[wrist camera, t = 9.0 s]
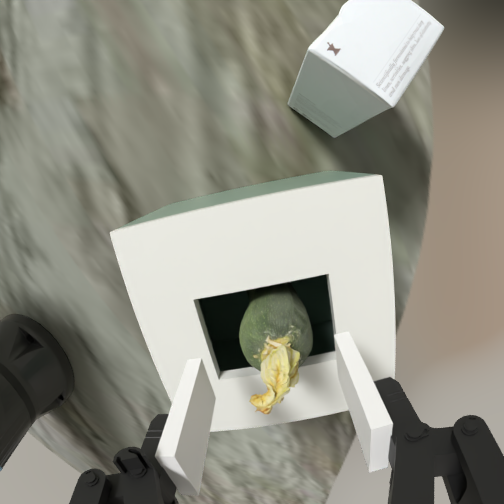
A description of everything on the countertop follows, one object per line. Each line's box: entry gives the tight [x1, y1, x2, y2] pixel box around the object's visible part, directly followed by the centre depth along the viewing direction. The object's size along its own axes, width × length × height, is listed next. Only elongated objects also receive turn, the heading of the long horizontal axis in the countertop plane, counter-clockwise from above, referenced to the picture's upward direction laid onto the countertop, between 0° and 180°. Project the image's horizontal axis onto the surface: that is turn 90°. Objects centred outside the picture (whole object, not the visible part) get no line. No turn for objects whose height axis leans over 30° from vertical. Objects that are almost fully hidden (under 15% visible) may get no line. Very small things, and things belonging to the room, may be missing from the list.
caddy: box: [110, 171, 396, 432], centre depth 26 cm, size 16×16×14 cm
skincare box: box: [288, 0, 444, 138], centre depth 21 cm, size 8×6×15 cm
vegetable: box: [239, 282, 313, 414], centre depth 22 cm, size 4×4×20 cm
